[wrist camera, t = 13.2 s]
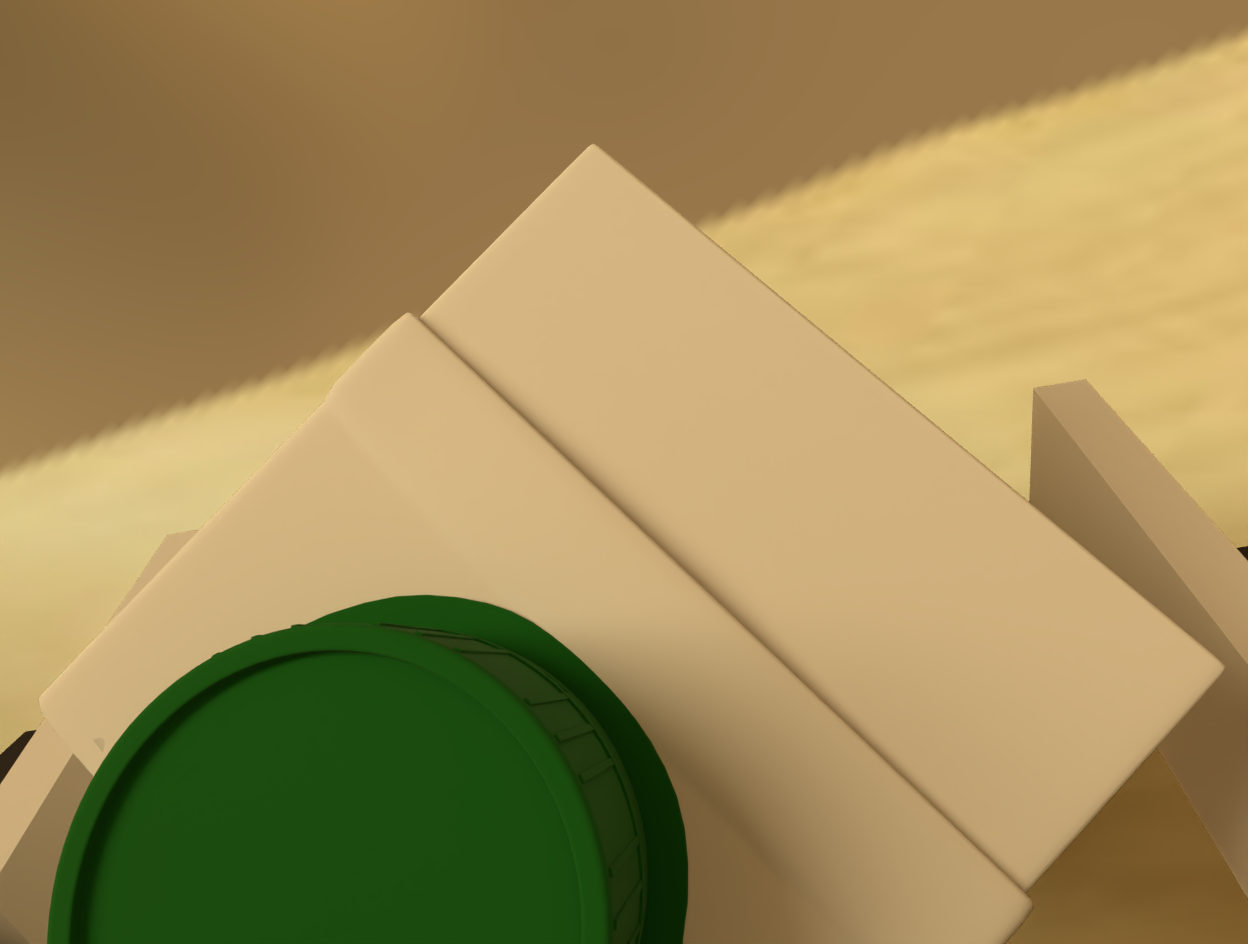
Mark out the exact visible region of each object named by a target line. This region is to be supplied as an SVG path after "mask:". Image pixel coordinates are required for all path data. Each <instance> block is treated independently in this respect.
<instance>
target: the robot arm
mask: <svg viewBox="0 0 1248 944" xmlns="http://www.w3.org/2000/svg"><path fill="white" fill-rule="evenodd" d="M1029 502H1030V503H1031V504H1032V505H1033V506H1034V507H1036V508H1037V509H1038V510H1039V511H1040V512H1042V513H1043V514H1044V515H1045V516H1046V517H1048V518H1049V519H1050V520H1051V521H1053V522H1054V523H1055V524H1056V525H1057V526H1059V527H1060V528H1061V529H1062V530H1063V531H1065V532H1066V533H1067V534H1068V535H1069V536H1071V537H1072V538H1073V539H1074V540H1076V541H1077V542H1078V543H1079V544H1080V545H1082V546H1083V547H1084V548H1085V549H1086V550H1088V551H1089V552H1090V553H1091V554H1092V555H1094V556H1095V557H1096V558H1097V559H1099V560H1100V561H1101V562H1102V563H1103V564H1105V565H1106V566H1107V567H1108V568H1109V569H1111V570H1112V571H1113V572H1114V573H1115V574H1117V575H1118V576H1119V577H1120V578H1121V579H1123V580H1124V581H1125V582H1126V583H1128V584H1129V585H1130V586H1131V587H1132V588H1134V589H1135V590H1136V591H1137V592H1138V593H1140V594H1141V595H1142V596H1143V597H1144V598H1146V599H1147V600H1148V601H1149V602H1151V603H1152V604H1153V605H1154V606H1155V607H1157V608H1158V609H1159V610H1160V611H1161V612H1163V613H1164V614H1165V615H1166V616H1167V617H1169V618H1170V619H1171V620H1172V621H1174V622H1175V623H1176V624H1177V625H1178V626H1180V627H1181V628H1182V629H1183V630H1184V631H1186V632H1187V633H1188V634H1189V635H1190V636H1192V637H1193V638H1194V639H1195V640H1196V641H1198V642H1199V643H1200V644H1201V645H1202V646H1204V647H1205V648H1206V649H1207V650H1208V651H1210V652H1211V653H1212V654H1213V655H1214V656H1216V657H1217V658H1218V659H1219V660H1220V661H1221V662H1222V663H1223V664H1224V665H1225V668H1224V671H1223V673H1222V674H1221V676H1220V677H1219V678H1218V679H1217V680H1216V681H1215V683H1214V684H1213V685H1212V686H1211V687H1210V688H1209V689H1208V691H1207V692H1206V693H1205V694H1204V695H1203V696H1202V697H1201V699H1200V700H1199V701H1198V702H1197V703H1196V704H1195V705H1194V707H1193V708H1192V709H1191V710H1190V711H1189V712H1188V713H1187V715H1186V716H1185V717H1184V718H1183V719H1182V720H1181V721H1180V722H1179V723H1178V725H1177V726H1176V727H1175V728H1174V729H1173V730H1172V731H1171V732H1170V734H1169V735H1168V736H1167V737H1166V738H1165V739H1164V740H1163V741H1162V742H1161V744H1160V745H1159V746H1158V747H1157V749H1158V751H1159V752H1160V754H1161V756H1162V757H1163V759H1164V761H1165V762H1166V764H1167V766H1168V767H1169V769H1170V771H1171V772H1172V774H1173V776H1174V777H1175V779H1176V781H1177V782H1178V784H1179V786H1180V787H1181V789H1182V791H1183V792H1184V794H1185V796H1186V797H1187V799H1188V801H1189V802H1190V804H1191V806H1192V807H1193V809H1194V811H1195V812H1196V814H1197V816H1198V817H1199V819H1200V821H1201V822H1202V824H1203V826H1204V827H1205V829H1206V831H1207V832H1208V834H1209V836H1210V837H1211V839H1212V841H1213V842H1214V844H1215V846H1216V847H1217V849H1218V851H1219V852H1220V854H1221V855H1222V857H1223V859H1224V860H1225V862H1226V864H1227V865H1228V867H1229V869H1230V870H1231V872H1232V874H1233V875H1234V877H1235V879H1236V880H1237V882H1238V884H1239V885H1240V887H1241V889H1242V890H1243V892H1244V894H1245V895H1246V897H1247V899H1248V546H1246V547H1240V548H1236V547H1235V546H1234V545H1233V544H1232V543H1231V542H1230V540H1229V539H1228V538H1227V537H1226V536H1225V535H1224V534H1223V533H1222V531H1221V530H1220V529H1219V528H1218V527H1217V526H1216V525H1215V524H1214V522H1213V521H1212V520H1211V519H1210V518H1209V517H1208V516H1207V515H1206V514H1205V512H1204V511H1203V510H1202V509H1201V508H1200V507H1199V506H1198V505H1197V503H1196V502H1195V501H1194V500H1193V499H1192V498H1191V497H1190V496H1189V494H1188V493H1187V492H1186V491H1185V490H1184V489H1183V488H1182V487H1181V485H1180V484H1179V483H1178V482H1177V481H1176V480H1175V479H1174V478H1173V476H1172V475H1171V474H1170V473H1169V472H1168V471H1167V470H1166V469H1165V467H1164V466H1163V465H1162V464H1161V463H1160V462H1159V461H1158V460H1157V459H1156V457H1155V456H1154V455H1153V454H1152V453H1151V452H1150V451H1149V450H1148V448H1147V447H1146V446H1145V445H1144V444H1143V443H1142V442H1141V441H1140V439H1139V438H1138V437H1137V436H1136V435H1135V434H1134V433H1133V432H1132V430H1131V429H1130V428H1129V427H1128V426H1127V425H1126V424H1125V423H1124V421H1123V420H1122V419H1121V418H1120V417H1119V416H1118V415H1117V414H1116V412H1115V411H1114V410H1113V409H1112V408H1111V407H1110V406H1109V405H1108V403H1107V402H1106V401H1105V400H1104V399H1103V398H1102V397H1101V396H1100V395H1099V393H1098V392H1097V391H1096V390H1095V389H1094V388H1093V387H1092V386H1091V384H1090V383H1089V382H1088V381H1087V380H1086V379H1085V380H1079V381H1073V382H1067V383H1061V384H1055V385H1050V386H1044V387H1038V388H1033V412H1032V442H1031V471H1030V501H1029ZM198 531H199V530H194V531H188V532H182V533H176V534H170V535H167V536H166V538H165V539H164V541H163V542H162V544H161V545H160V547H159V548H158V550H157V551H156V553H155V554H154V556H153V557H152V559H151V560H150V562H149V563H148V565H147V566H146V568H145V569H144V571H143V572H142V574H141V575H140V577H139V578H138V580H137V581H136V583H135V584H134V585H133V587H132V588H131V590H130V591H129V593H128V594H127V596H126V597H125V599H124V600H123V602H122V603H121V605H120V606H119V608H118V609H117V611H116V612H115V614H114V615H113V617H112V618H111V620H110V621H109V623H110V622H111V621H112V620H113V619H114V618H115V617H116V616H117V615H118V614H119V613H120V612H121V611H122V610H123V609H124V608H125V607H126V606H127V605H128V604H129V603H130V601H131V600H132V599H133V598H134V597H135V596H136V595H137V594H138V593H139V592H140V591H141V590H142V589H143V588H144V587H145V586H146V585H147V584H148V583H149V582H150V581H151V580H152V579H153V578H154V577H155V576H156V575H157V573H158V572H159V571H160V570H161V569H162V568H163V567H164V566H165V565H166V564H167V563H168V562H169V561H170V560H171V559H172V558H173V557H174V556H175V555H176V554H177V553H178V552H179V551H180V550H181V549H182V548H183V547H184V545H185V544H186V543H187V542H188V541H189V540H190V539H191V538H192V537H193V536H194V535H195V534H196V533H197V532H198ZM109 623H108V624H109ZM108 624H107V625H108ZM93 777H94V776H93V775H92V774H91V773H90V772H89V771H88V770H87V768H86V767H85V766H84V765H83V764H82V763H81V761H80V760H79V759H78V758H77V757H76V756H75V755H74V753H73V752H72V751H71V750H70V749H69V748H68V747H67V745H66V744H65V743H64V742H63V740H62V739H61V738H60V736H59V735H58V734H57V733H56V731H55V730H54V729H53V727H52V726H51V725H50V723H49V722H48V721H47V719H46V718H44V720H43V721H42V723H41V724H40V726H39V727H38V729H37V730H34V731H27V732H25V733H23V734H22V735H21V736H20V737H19V738H18V739H17V740H16V741H15V742H14V743H13V744H12V745H10V746H9V747H8V748H7V749H6V750H5V751H4V752H3V753H2V754H1V755H0V944H47V935H48V920H49V911H50V904H51V897H52V891H53V886H54V881H55V876H56V871H57V867H58V863H59V860H60V856H61V853H62V849H63V846H64V843H65V840H66V837H67V834H68V831H69V828H70V825H71V823H72V820H73V818H74V816H75V813H76V811H77V809H78V806H79V804H80V802H81V800H82V798H83V796H84V794H85V792H86V790H87V788H88V786H89V784H90V782H91V780H92V778H93Z"/></svg>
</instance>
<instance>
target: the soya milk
mask: <svg viewBox="0 0 1248 944" xmlns="http://www.w3.org/2000/svg"><path fill="white" fill-rule="evenodd" d="M1224 668H1225V665H1224V664H1223V663H1222V662H1221V661H1220V660H1219V659H1218V658H1217V657H1216V656H1214V655H1213V654H1212V653H1211V652H1210V651H1208V650H1207V649H1206V648H1205V647H1204V646H1202V645H1201V644H1200V643H1199V642H1198V641H1196V640H1195V639H1194V638H1193V637H1192V636H1190V635H1189V634H1188V633H1187V632H1186V631H1184V630H1183V629H1182V628H1181V627H1180V626H1178V625H1177V624H1176V623H1175V622H1174V621H1172V620H1171V619H1170V618H1169V617H1167V616H1166V615H1165V614H1164V613H1163V612H1161V611H1160V610H1159V609H1158V608H1157V607H1155V606H1154V605H1153V604H1152V603H1151V602H1149V601H1148V600H1147V599H1146V598H1144V597H1143V596H1142V595H1141V594H1140V593H1138V592H1137V591H1136V590H1135V589H1134V588H1132V587H1131V586H1130V585H1129V584H1128V583H1126V582H1125V581H1124V580H1123V579H1121V578H1120V577H1119V576H1118V575H1117V574H1115V573H1114V572H1113V571H1112V570H1111V569H1109V568H1108V567H1107V566H1106V565H1105V564H1103V563H1102V562H1101V561H1100V560H1099V559H1097V558H1096V557H1095V556H1094V555H1092V554H1091V553H1090V552H1089V551H1088V550H1086V549H1085V548H1084V547H1083V546H1082V545H1080V544H1079V543H1078V542H1077V541H1076V540H1074V539H1073V538H1072V537H1071V536H1069V535H1068V534H1067V533H1066V532H1065V531H1063V530H1062V529H1061V528H1060V527H1059V526H1057V525H1056V524H1055V523H1054V522H1053V521H1051V520H1050V519H1049V518H1048V517H1046V516H1045V515H1044V514H1043V513H1042V512H1040V511H1039V510H1038V509H1037V508H1036V507H1034V506H1033V505H1032V504H1031V503H1030V502H1028V501H1027V500H1026V499H1025V498H1024V497H1022V496H1021V495H1020V494H1019V493H1017V492H1016V491H1015V490H1014V489H1013V488H1011V487H1010V486H1009V485H1008V484H1007V483H1005V482H1004V481H1003V480H1002V479H1001V478H999V477H998V476H997V475H996V474H994V473H993V472H992V471H991V470H990V469H988V468H987V467H986V466H985V465H984V464H982V463H981V462H980V461H979V460H978V459H976V458H975V457H974V456H973V455H971V454H970V453H969V452H968V451H967V450H965V449H964V448H963V447H962V446H961V445H959V444H958V443H957V442H956V441H955V440H953V439H952V438H951V437H950V436H949V435H947V434H946V433H945V432H944V431H942V430H941V429H940V428H939V427H938V426H936V425H935V424H934V423H933V422H932V421H930V420H929V419H928V418H927V417H926V416H924V415H923V414H922V413H921V412H919V411H918V410H917V409H916V408H915V407H913V406H912V405H911V404H910V403H909V402H907V401H906V400H905V399H904V398H903V397H901V396H900V395H899V394H898V393H896V392H895V391H894V390H893V389H892V388H890V387H889V386H888V385H887V384H886V383H884V382H883V381H882V380H881V379H880V378H878V377H877V376H876V375H875V374H874V373H872V372H871V371H870V370H869V369H867V368H866V367H865V366H864V365H863V364H861V363H860V362H859V361H858V360H857V359H855V358H854V357H853V356H852V355H851V354H849V353H848V352H847V351H846V350H844V349H843V348H842V347H841V346H840V345H838V344H837V343H836V342H835V341H834V340H832V339H831V338H830V337H829V336H828V335H826V334H825V333H824V332H823V331H822V330H820V329H819V328H818V327H817V326H815V325H814V324H813V323H812V322H811V321H809V320H808V319H807V318H806V317H805V316H803V315H802V314H801V313H800V312H799V311H797V310H796V309H795V308H794V307H792V306H791V305H790V304H789V303H788V302H786V301H785V300H784V299H783V298H782V297H780V296H779V295H778V294H777V293H776V292H774V291H773V290H772V289H771V288H769V287H768V286H767V285H766V284H765V283H763V282H762V281H761V280H760V279H759V278H757V277H756V276H755V275H754V274H753V273H751V272H750V271H749V270H748V269H747V268H745V267H744V266H743V265H742V264H740V263H739V262H738V261H737V260H736V259H734V258H733V257H732V256H731V255H730V254H728V253H727V252H726V251H725V250H724V249H722V248H721V247H720V246H719V245H717V244H716V243H715V242H714V241H713V240H711V239H710V238H709V237H708V236H707V235H705V234H704V233H703V232H702V231H701V230H699V229H698V228H697V227H696V226H694V225H693V224H692V223H691V222H690V221H688V220H687V219H686V218H685V217H684V216H682V215H681V214H680V213H679V212H678V211H676V210H675V209H674V208H673V207H671V206H670V205H669V204H668V203H667V202H665V201H664V200H663V199H662V198H660V197H659V196H658V195H657V194H656V193H654V192H653V191H652V190H651V189H650V188H648V187H647V186H646V185H645V184H644V183H642V182H641V181H640V180H639V179H637V178H636V177H635V176H634V175H632V174H631V173H630V172H629V171H628V170H627V169H626V168H624V167H623V166H622V165H621V164H619V163H618V162H617V161H616V160H615V159H613V158H612V157H611V156H610V155H608V154H607V153H606V152H605V151H603V150H602V149H601V148H599V147H598V146H597V145H595V144H592V145H590V146H589V147H588V148H587V149H586V150H585V151H584V152H583V153H582V154H581V155H580V156H579V157H578V158H577V159H576V160H575V161H574V162H573V163H572V164H571V165H570V166H569V167H568V168H567V169H566V170H565V171H564V172H563V173H562V174H561V175H560V176H559V177H558V178H557V179H556V180H555V181H554V182H553V183H552V184H551V185H550V186H549V187H548V188H547V189H546V190H545V191H544V192H543V193H542V194H541V195H540V196H539V197H538V198H537V199H536V200H535V201H534V202H533V203H532V204H531V205H530V206H529V207H528V208H527V209H526V210H525V211H524V212H523V213H522V214H521V215H520V216H519V217H518V218H517V219H516V220H515V221H514V222H513V223H512V224H511V225H510V226H509V228H507V229H506V230H505V231H504V232H503V233H502V234H501V235H500V236H499V237H498V238H497V239H496V240H495V242H493V243H492V244H491V246H490V247H489V248H488V249H487V250H486V251H485V252H484V253H483V254H482V255H481V256H480V257H479V258H478V259H477V260H476V261H475V262H474V263H473V264H472V265H471V266H470V267H469V268H468V269H467V270H466V271H465V272H464V273H463V274H462V275H461V276H460V277H459V278H458V279H457V280H456V281H455V282H454V283H453V284H452V285H451V286H450V287H449V288H448V289H447V290H446V291H445V292H444V293H443V294H442V295H441V296H440V297H439V298H438V299H437V300H436V301H435V302H434V303H433V304H432V305H431V306H430V307H429V308H428V309H427V310H426V311H425V313H424V314H423V315H422V316H421V317H420V318H419V319H418V318H417V317H416V316H415V315H414V314H412V313H406V314H405V315H403V316H402V317H401V318H399V319H398V320H397V321H396V322H394V323H393V324H392V325H391V326H390V327H389V328H388V329H387V330H386V331H385V332H384V333H383V334H382V335H381V336H380V337H379V338H378V339H377V340H376V341H375V342H374V343H373V344H372V345H371V346H370V347H369V348H368V349H367V350H366V351H365V352H364V353H363V354H362V355H361V356H360V357H359V358H358V359H357V360H356V361H355V362H354V363H353V364H352V365H351V366H350V367H349V368H348V370H347V371H346V372H345V373H344V374H343V375H342V376H341V377H340V378H339V379H338V380H337V381H336V383H335V384H334V385H333V387H332V388H331V390H330V391H329V392H328V395H327V398H326V399H325V400H324V402H323V403H322V404H321V405H320V406H319V407H318V408H317V409H316V410H315V411H314V412H313V413H312V414H311V415H310V416H309V417H308V418H307V419H306V420H305V421H304V422H303V423H302V424H301V425H300V426H299V427H298V428H297V429H296V430H295V432H294V433H293V434H292V435H291V436H290V437H289V438H288V439H287V440H286V441H285V442H284V443H283V444H282V445H281V446H280V447H279V448H278V449H277V450H276V451H275V452H274V453H273V454H272V455H271V456H270V457H269V458H268V459H267V460H266V461H265V462H264V463H263V464H262V466H261V467H260V468H259V469H258V470H257V471H256V472H255V473H254V474H253V475H252V476H251V477H250V478H249V479H248V480H247V481H246V482H245V483H244V484H243V485H242V486H241V487H240V488H239V489H238V490H237V491H236V493H235V494H234V495H233V496H232V497H231V498H230V499H229V500H228V501H227V502H226V503H225V504H224V505H223V506H222V507H221V508H220V509H219V510H218V511H217V512H216V513H215V514H214V515H213V516H212V517H211V518H210V520H209V521H208V522H207V523H206V524H205V525H204V526H203V527H202V528H201V529H200V530H199V531H198V532H197V533H196V534H195V535H194V536H193V537H192V538H191V539H190V540H189V541H188V542H187V543H186V544H185V545H184V547H183V548H182V549H181V550H180V551H179V552H178V553H177V554H176V555H175V556H174V557H173V558H172V559H171V560H170V561H169V562H168V563H167V564H166V565H165V566H164V567H163V568H162V569H161V570H160V571H159V572H158V573H157V575H156V576H155V577H154V578H153V579H152V580H151V581H150V582H149V583H148V584H147V585H146V586H145V587H144V588H143V589H142V590H141V591H140V592H139V593H138V594H137V595H136V596H135V597H134V598H133V599H132V600H131V601H130V603H129V604H128V605H127V606H126V607H125V608H124V609H123V610H122V611H121V612H120V613H119V614H118V615H117V616H116V617H115V618H114V619H113V620H112V621H111V622H110V623H109V624H108V625H107V626H106V627H105V628H104V629H103V630H102V632H101V633H100V634H99V635H98V636H97V637H96V638H95V639H94V640H93V641H92V642H91V643H90V644H89V645H88V646H87V647H86V648H85V649H84V650H83V651H82V652H81V653H80V654H79V655H78V656H77V657H76V659H75V660H74V661H73V662H72V663H71V664H70V665H69V666H68V667H67V668H66V669H65V670H64V671H63V672H62V673H61V674H60V675H59V676H58V678H57V679H56V680H55V681H54V682H53V683H52V684H51V685H50V686H49V687H48V688H47V689H46V690H45V691H44V692H43V693H42V695H41V696H40V698H39V705H40V708H41V711H42V713H43V715H44V716H45V718H46V719H47V721H48V722H49V723H50V725H51V726H52V727H53V729H54V730H55V731H56V733H57V734H58V735H59V736H60V738H61V739H62V740H63V742H64V743H65V744H66V745H67V747H68V748H69V749H70V750H71V751H72V752H73V753H74V755H75V756H76V757H77V758H78V759H79V760H80V761H81V763H82V764H83V765H84V766H85V767H86V768H87V770H88V771H89V772H90V773H91V774H92V775H93V776H94V777H93V778H92V780H91V782H90V784H89V786H88V788H87V790H86V792H85V794H84V796H83V798H82V800H81V802H80V804H79V806H78V809H77V811H76V813H75V816H74V818H73V820H72V823H71V825H70V828H69V831H68V834H67V837H66V840H65V843H64V846H63V849H62V853H61V856H60V860H59V863H58V867H57V871H56V876H55V881H54V886H53V891H52V897H51V904H50V911H49V920H48V935H47V944H1005V943H1006V942H1007V941H1008V940H1009V939H1010V938H1011V936H1012V935H1013V934H1014V933H1015V932H1016V931H1017V929H1018V928H1019V927H1020V926H1021V925H1022V924H1023V922H1024V921H1025V919H1026V918H1027V916H1028V915H1029V913H1030V912H1031V910H1032V909H1033V902H1032V900H1031V899H1030V898H1029V897H1028V896H1027V895H1026V893H1027V892H1028V891H1029V889H1030V888H1031V887H1032V886H1033V885H1034V884H1035V883H1036V882H1037V881H1038V879H1039V878H1040V877H1041V876H1042V875H1043V874H1044V873H1045V872H1046V871H1047V869H1048V868H1049V867H1050V866H1051V865H1052V864H1053V863H1054V862H1055V861H1056V859H1057V858H1058V857H1059V856H1060V855H1061V854H1062V853H1063V852H1064V851H1065V849H1066V848H1067V847H1068V846H1069V845H1070V844H1071V843H1072V842H1073V841H1074V839H1075V838H1076V837H1077V836H1078V835H1079V834H1080V833H1081V832H1082V830H1083V829H1084V828H1085V827H1086V826H1087V825H1088V824H1089V823H1090V822H1091V820H1092V819H1093V818H1094V817H1095V816H1096V815H1097V814H1098V813H1099V812H1100V810H1101V809H1102V808H1103V807H1104V806H1105V805H1106V804H1107V803H1108V802H1109V800H1110V799H1111V798H1112V797H1113V796H1114V795H1115V794H1116V793H1117V791H1118V790H1119V789H1120V788H1121V787H1122V786H1123V785H1124V784H1125V783H1126V781H1127V780H1128V779H1129V778H1130V777H1131V776H1132V775H1133V774H1134V773H1135V771H1136V770H1137V769H1138V768H1139V767H1140V766H1141V765H1142V764H1143V763H1144V761H1145V760H1146V759H1147V758H1148V757H1149V756H1150V755H1151V754H1152V752H1153V751H1154V750H1155V749H1156V748H1157V747H1158V746H1159V745H1160V744H1161V742H1162V741H1163V740H1164V739H1165V738H1166V737H1167V736H1168V735H1169V734H1170V732H1171V731H1172V730H1173V729H1174V728H1175V727H1176V726H1177V725H1178V723H1179V722H1180V721H1181V720H1182V719H1183V718H1184V717H1185V716H1186V715H1187V713H1188V712H1189V711H1190V710H1191V709H1192V708H1193V707H1194V705H1195V704H1196V703H1197V702H1198V701H1199V700H1200V699H1201V697H1202V696H1203V695H1204V694H1205V693H1206V692H1207V691H1208V689H1209V688H1210V687H1211V686H1212V685H1213V684H1214V683H1215V681H1216V680H1217V679H1218V678H1219V677H1220V676H1221V674H1222V673H1223V671H1224Z"/></svg>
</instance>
